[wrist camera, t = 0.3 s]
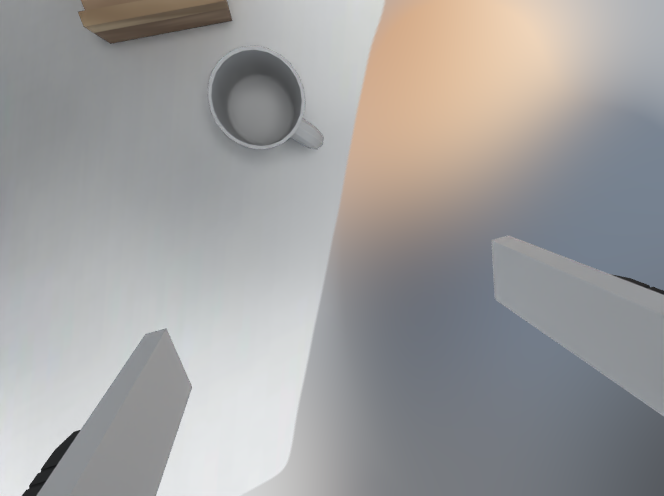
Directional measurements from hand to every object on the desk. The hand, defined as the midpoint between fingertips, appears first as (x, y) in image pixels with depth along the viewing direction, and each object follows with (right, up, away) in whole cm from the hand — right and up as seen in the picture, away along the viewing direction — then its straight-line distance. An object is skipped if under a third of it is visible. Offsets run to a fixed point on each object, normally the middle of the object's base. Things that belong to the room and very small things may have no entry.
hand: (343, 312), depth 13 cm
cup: (-6, +16, +21) cm, 27 cm away
